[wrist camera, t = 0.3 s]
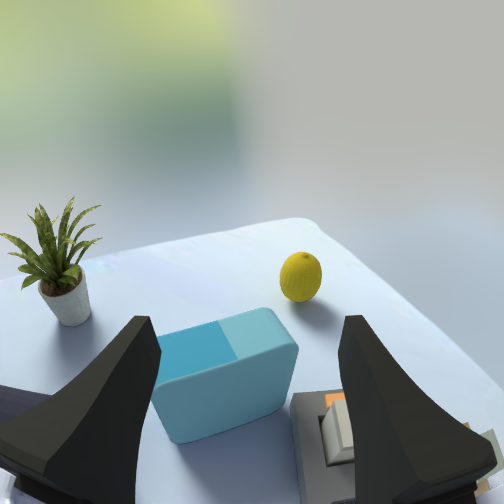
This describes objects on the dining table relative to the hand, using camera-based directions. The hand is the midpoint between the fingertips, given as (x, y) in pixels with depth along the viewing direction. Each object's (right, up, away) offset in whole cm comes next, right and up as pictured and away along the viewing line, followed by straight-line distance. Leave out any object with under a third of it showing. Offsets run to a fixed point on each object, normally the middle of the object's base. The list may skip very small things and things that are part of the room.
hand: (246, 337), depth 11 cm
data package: (-3, -13, +18) cm, 23 cm away
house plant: (-23, -6, +28) cm, 37 cm away
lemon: (+6, -4, +33) cm, 33 cm away
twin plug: (+8, -16, +15) cm, 23 cm away
